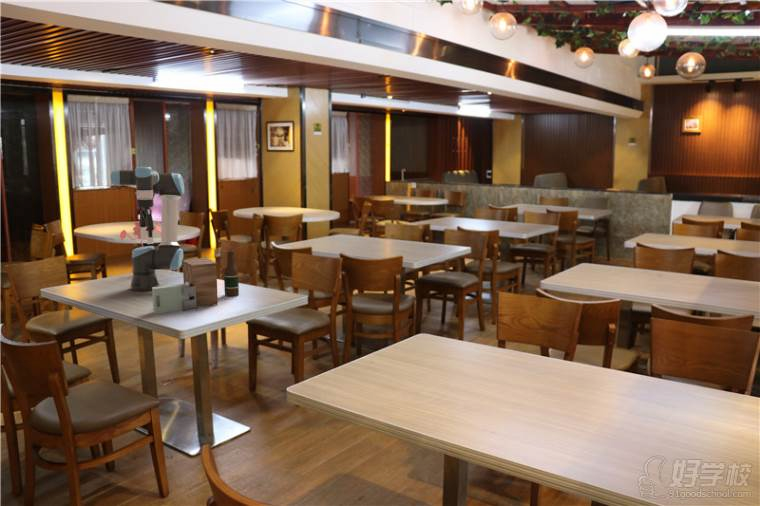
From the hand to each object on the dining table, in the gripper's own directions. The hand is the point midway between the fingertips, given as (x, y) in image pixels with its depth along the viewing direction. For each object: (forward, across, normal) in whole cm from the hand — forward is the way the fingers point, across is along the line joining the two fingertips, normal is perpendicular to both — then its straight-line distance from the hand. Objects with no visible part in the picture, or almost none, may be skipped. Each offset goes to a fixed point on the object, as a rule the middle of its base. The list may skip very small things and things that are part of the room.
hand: (147, 242), depth 317 cm
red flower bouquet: (+32, -75, +14) cm, 83 cm away
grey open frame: (+32, +17, +14) cm, 39 cm away
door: (+32, +17, +6) cm, 36 cm away
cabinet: (+32, +8, +23) cm, 40 cm away
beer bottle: (+32, 0, +42) cm, 53 cm away
